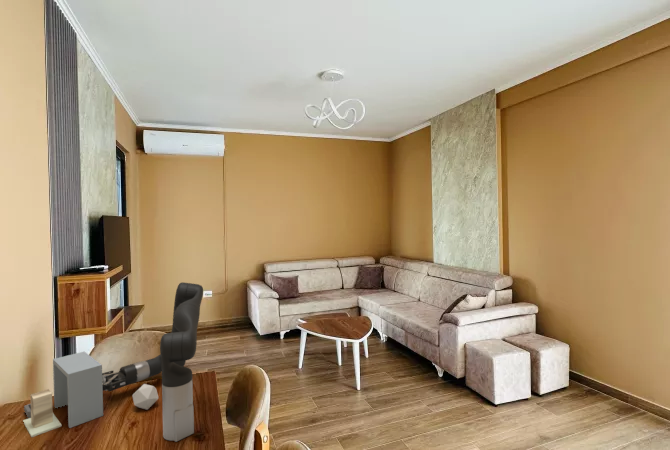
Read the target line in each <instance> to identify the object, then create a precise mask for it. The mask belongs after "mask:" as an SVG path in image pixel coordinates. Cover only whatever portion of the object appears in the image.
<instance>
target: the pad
mask: <svg viewBox="0 0 670 450" xmlns="http://www.w3.org/2000/svg"><path fill="white" fill-rule="evenodd" d="M22 422H24V423H23V424H24V426H25V428H26V430H27V432H28V434H29V435H30V437H31V438H34V437H36V436H38V435H42V434H44V433H47V432H50V431H52V430H56V429H58V428H61V427H62V423H61V422H60V421H59V419H58V418H57V417H56V415H55V414H54V413H53V422H51V423H48V424H45V425H42V426H40V427H37V428H34V427H33V425H32V423H31V418H26V419H23V420H22Z"/></svg>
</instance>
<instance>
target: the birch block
mask: <svg viewBox="0 0 670 450" xmlns="http://www.w3.org/2000/svg"><path fill="white" fill-rule="evenodd" d="M29 396H30V404H31V423H32V425H33V427H34V428H37V427H40V426H42V425H45V424H48V423H51V422H53V414H54V412H53V408H54V407H53V393H52V391H51V390H50V389H49V388H48V389H44V390H41V391H38V392H35V393H31V394H30V395H29Z"/></svg>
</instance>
